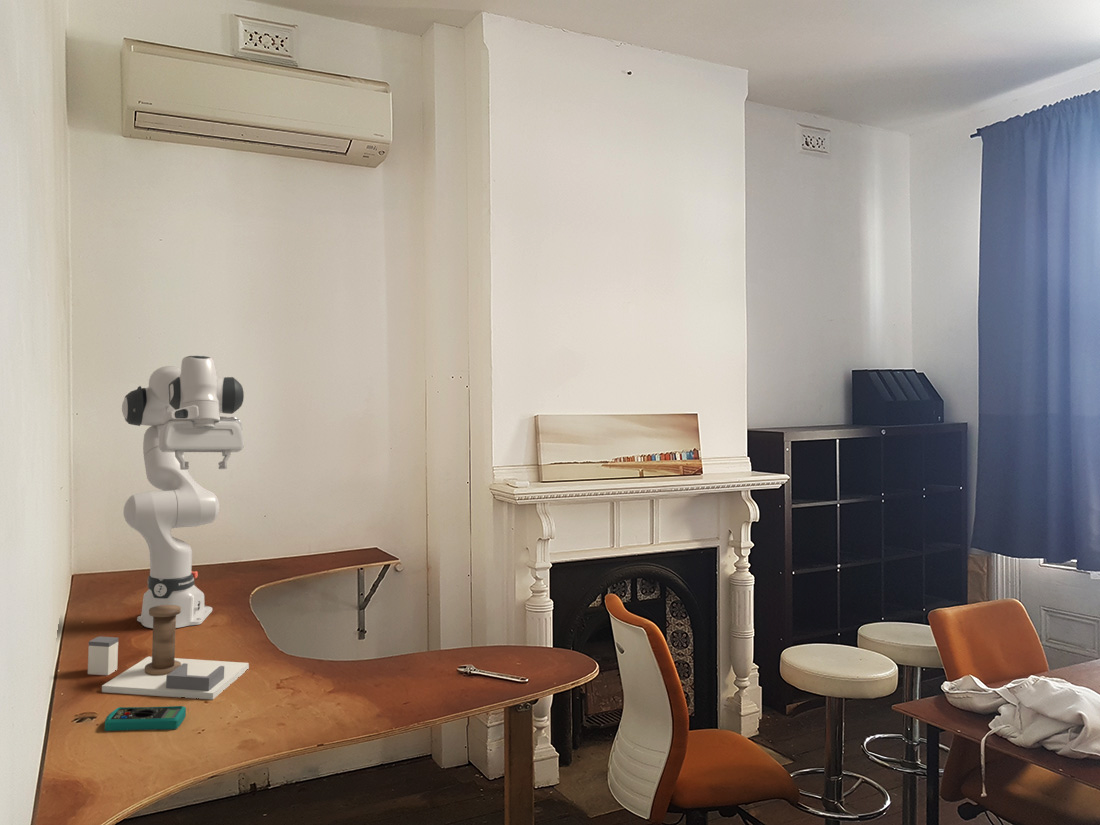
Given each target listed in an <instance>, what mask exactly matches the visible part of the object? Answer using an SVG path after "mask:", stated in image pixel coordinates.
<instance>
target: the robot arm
mask: <svg viewBox="0 0 1100 825" xmlns="http://www.w3.org/2000/svg"><path fill="white" fill-rule="evenodd" d="M148 379H149V380H148V386H147V387H142V385H139V386H137V389H134V390H132V391H130V392H128V393H127V394H126V395H125V396H124V399H123V401H122V404H121V412H122V415H123V417H124V421H125V422H126V423H127V424H129V425H132V426H138V427H140V426H148V428H147V429H146V430H145V433H144V434H143V435H144V436H143V443H142V444H143V446H142V449H143V450H142V451H143V460H144V467H145V473H146V479H147V480H148V482H149V483H150V485H151V486H153V487H154V488H156V489H158V490H154V491H153V490H150V491H145V492H140V493H139V492H138V493H135V494H132V495H131V496H130V497H128V498H127V500H126V502H125V504H124V506H123V517H124V519H125V522H126V523H127V524H128V526H130V528H132V529H133V530H135V531H137V532H138V533H139V534H140V535H141V537H143V539H144V541H145V542H146V545H147V548H148V550H149V551H148V552H149V566H150V568H149V575H148V577H147V589H148V590H146V591H145V592H144V593H143V598H142V599H143V600H142V606H141V613H140V614H141V615H139V616H137V618H136V621H137V622H139V623H141V625H142V626H144V627H145V628H149V629H153V616H150V615H149V609H150V608H152V607H155V606H160V605H177V606H180V607H181V612H180V613H179V614H177V615H176V629H177V628H178V629H179V628H183V627H189V626H197V625H201V624H202V623H203V622H204V621H205V620H206V619H207V617H208V616H209V615H210V614H211V613H212V612H213V607H211V606H208V605H205V593H204V592H203V591H202V590H201V589H199V588H198V587H197V585H196V584H195V579H197V578H198V576H199V574H198V573H199V572H198V571H192V567H193V566H192V565H193V564H192V563H193V561H192V560H193V550H192V547H191V545H190V544H189V543H187V542H186V541H184V540H182V539H179V538H177V537H174V536H172V529H175V528H180V529H181V528H191V527H192V528H193V527H195V528H196V527H200V526H204V525H205V526H206V525H208V524H211V523H213V522H214V521H215V520H216V519H217V517H218V516H219V513H220V511H221V510H220V507H221V505H220V504H221V503H220V501H219V499H218V498H219V497H218V496H217V495H216V494H215V493H214V492H213V491H211V490H208V489H207V488H205V487H203V486H201V484H199V483H198V482H197V481H196V479H194V477H193V476H192V475H191V473H190V472H189V470H188V469H190V468H189V465H190V464H189V463H190V462H189V461H186V458H185V453H221V456H222V457H223V459H222V461H219V462H218V469H219V470H226V469H227V468H228V465H227V464H228V463H227V462H228V461H229V458H230V457H231V453H238V452H240V451H242V450H243V448H244V447H245V441H244V435H243V422H242V420H240V419H239V418H237V417H236V416H235V417H234V416H221V415H220V414H228V415H229V414H230V415H233V414H235V413H236V412H237V411H238V410H239V409H240V408H241V407H242V406H243V403H244V398H245V397H244V395H245V392H244V388H243V385H242V384H241V383H240V382H239V381H238V380H237V378H235V377H233V376H230V377H229V376H227V377H226V376H225V377H218V375H217V369H216V364H215V361H214V359H213V358H211V357H210V356H205V355H189V356H185V357H183V358H182V359H181V367H178V366H173V365H166V366H161V367H159V368H156V369H155V370H154V371H153V372H152V373H151V375H150V376H149V378H148Z"/></svg>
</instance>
